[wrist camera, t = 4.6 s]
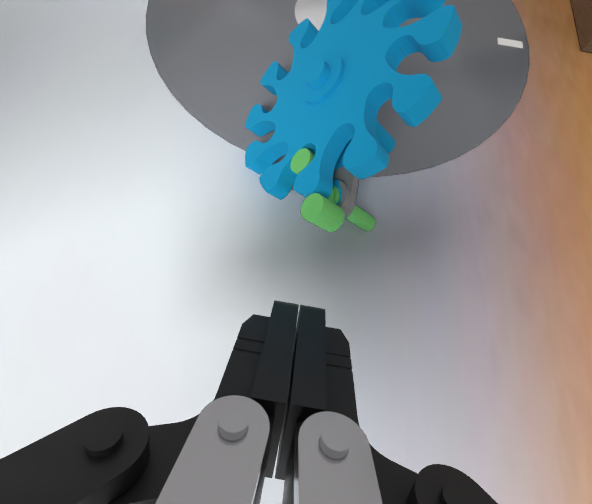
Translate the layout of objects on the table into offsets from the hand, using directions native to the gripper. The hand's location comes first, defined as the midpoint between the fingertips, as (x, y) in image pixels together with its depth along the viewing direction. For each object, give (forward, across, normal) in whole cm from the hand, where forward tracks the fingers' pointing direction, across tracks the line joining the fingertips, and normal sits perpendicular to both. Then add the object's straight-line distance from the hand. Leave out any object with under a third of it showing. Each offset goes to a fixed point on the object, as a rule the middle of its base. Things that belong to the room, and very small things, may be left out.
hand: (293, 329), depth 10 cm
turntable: (+18, 0, -11) cm, 21 cm away
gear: (+10, 0, -4) cm, 10 cm away
